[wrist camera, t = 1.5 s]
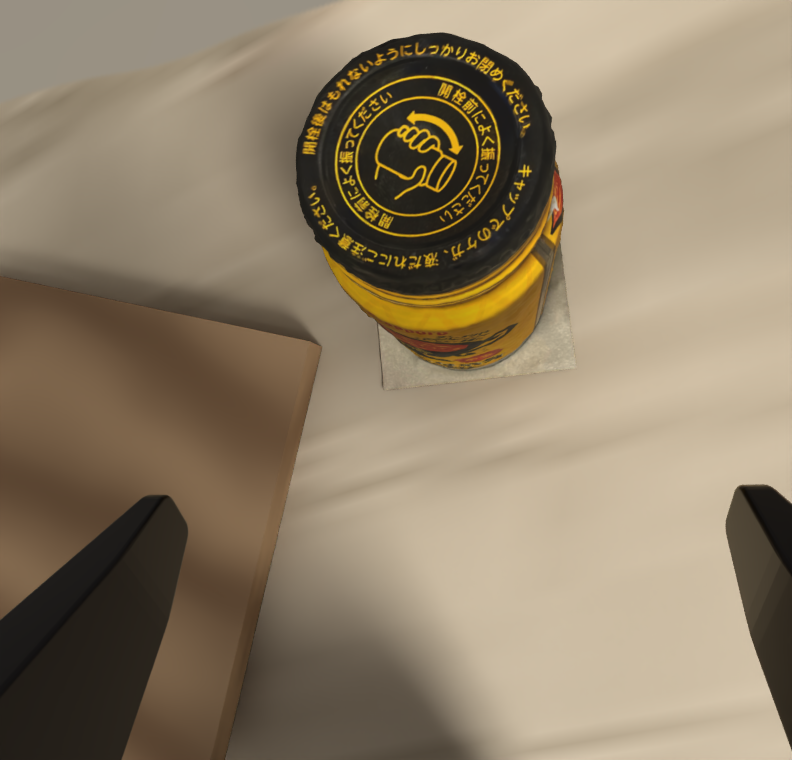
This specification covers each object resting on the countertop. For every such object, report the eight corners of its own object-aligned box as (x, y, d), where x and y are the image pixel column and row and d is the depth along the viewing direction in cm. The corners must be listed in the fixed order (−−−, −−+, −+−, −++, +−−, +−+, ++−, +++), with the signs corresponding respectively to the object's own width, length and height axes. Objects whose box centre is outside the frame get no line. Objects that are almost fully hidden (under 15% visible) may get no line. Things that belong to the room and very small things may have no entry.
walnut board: (215, 799, 23) (195, 824, 22) (-111, 672, 26) (-147, 686, 25) (321, 347, 24) (309, 341, 22) (-6, 278, 27) (-35, 268, 26)
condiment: (384, 391, 23) (260, 344, 12) (365, 185, 24) (232, -49, 13) (576, 369, 22) (653, 292, 10) (547, 153, 23) (589, -141, 11)
